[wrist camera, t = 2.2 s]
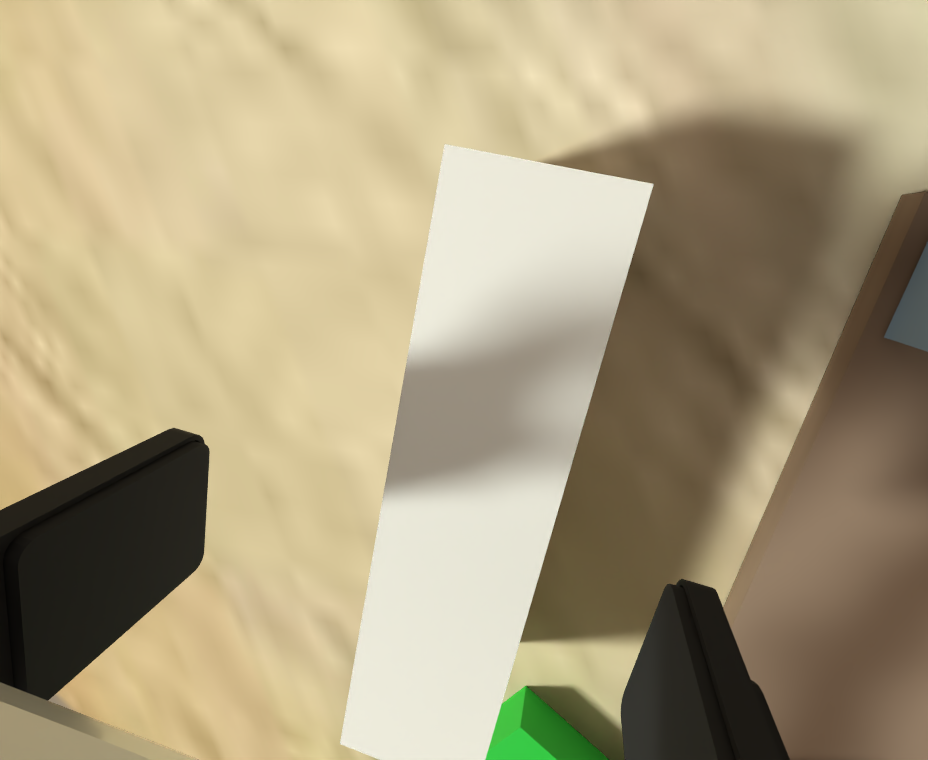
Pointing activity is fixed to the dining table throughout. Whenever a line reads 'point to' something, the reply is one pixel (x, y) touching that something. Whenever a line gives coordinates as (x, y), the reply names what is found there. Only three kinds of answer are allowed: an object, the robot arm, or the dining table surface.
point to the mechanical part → (536, 733)
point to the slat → (484, 441)
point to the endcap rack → (850, 541)
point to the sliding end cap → (913, 309)
